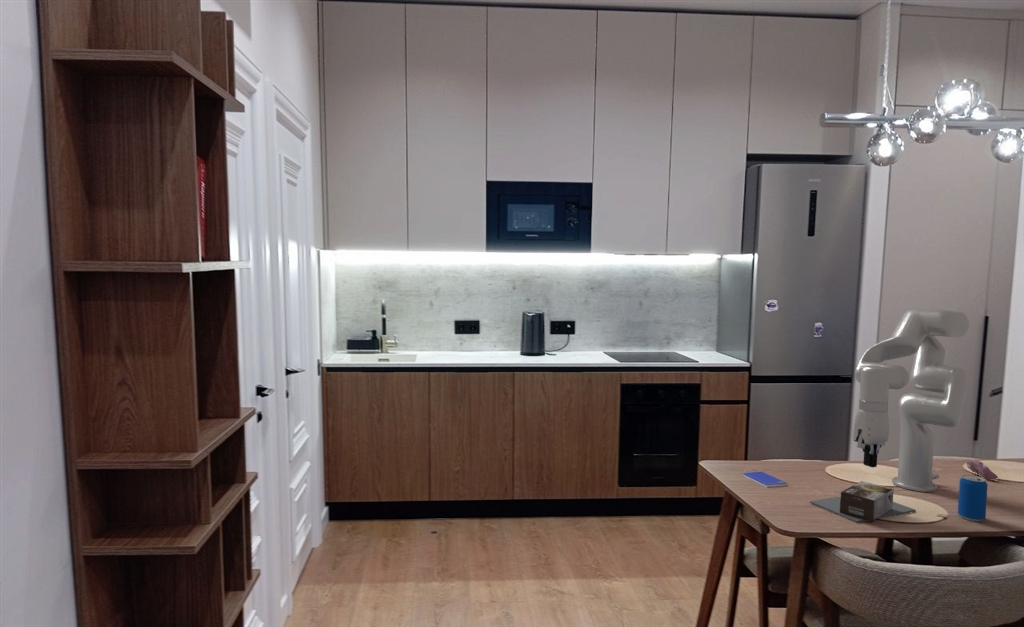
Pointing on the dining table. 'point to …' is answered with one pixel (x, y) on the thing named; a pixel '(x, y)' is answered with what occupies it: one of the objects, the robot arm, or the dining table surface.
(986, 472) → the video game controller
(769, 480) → the hard drive
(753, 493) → the dining table surface
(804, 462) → the dining table surface
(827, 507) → the gray mat
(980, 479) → the beverage can
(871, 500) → the coffee box
